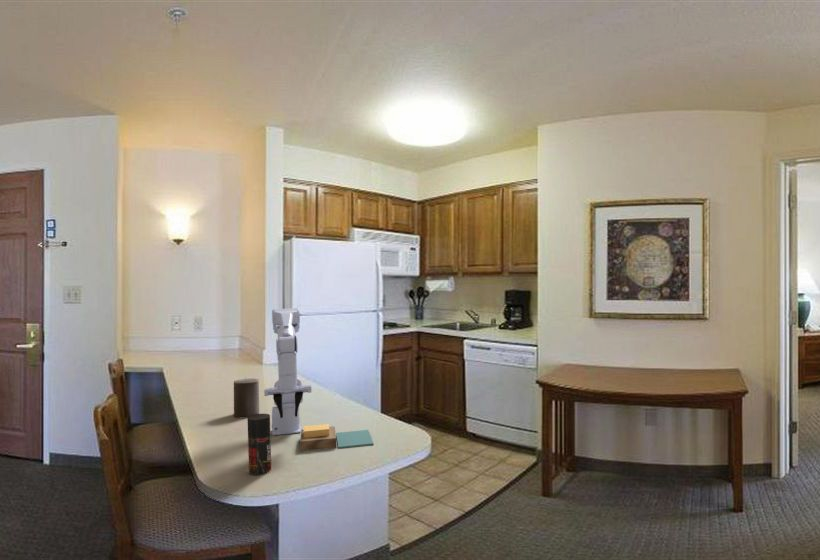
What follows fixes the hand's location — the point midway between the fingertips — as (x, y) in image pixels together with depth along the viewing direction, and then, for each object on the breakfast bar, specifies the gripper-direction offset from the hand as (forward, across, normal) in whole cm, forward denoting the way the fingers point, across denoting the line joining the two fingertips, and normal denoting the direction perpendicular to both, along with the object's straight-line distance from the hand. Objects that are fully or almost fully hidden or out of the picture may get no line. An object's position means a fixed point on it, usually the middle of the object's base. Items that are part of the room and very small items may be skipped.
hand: (289, 416), depth 146 cm
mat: (+9, +20, 0) cm, 23 cm away
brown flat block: (+9, +9, 0) cm, 13 cm away
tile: (+6, +8, 0) cm, 11 cm away
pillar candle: (+10, -19, +43) cm, 48 cm away
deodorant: (+10, -7, -18) cm, 22 cm away
